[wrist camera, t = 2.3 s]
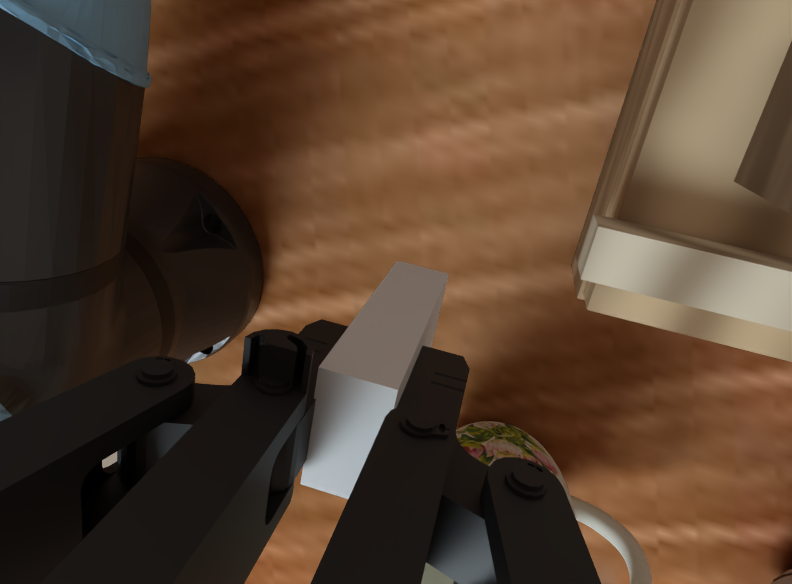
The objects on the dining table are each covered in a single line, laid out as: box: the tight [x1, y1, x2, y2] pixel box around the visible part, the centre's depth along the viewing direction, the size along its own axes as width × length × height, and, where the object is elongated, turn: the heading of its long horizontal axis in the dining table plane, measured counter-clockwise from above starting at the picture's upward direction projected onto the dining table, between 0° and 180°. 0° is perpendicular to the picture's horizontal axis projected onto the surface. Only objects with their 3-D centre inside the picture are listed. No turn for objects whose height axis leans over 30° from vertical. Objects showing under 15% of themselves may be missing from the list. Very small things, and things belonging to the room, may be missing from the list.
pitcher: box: [421, 421, 652, 584], centre depth 38 cm, size 11×18×14 cm, turn 82°
